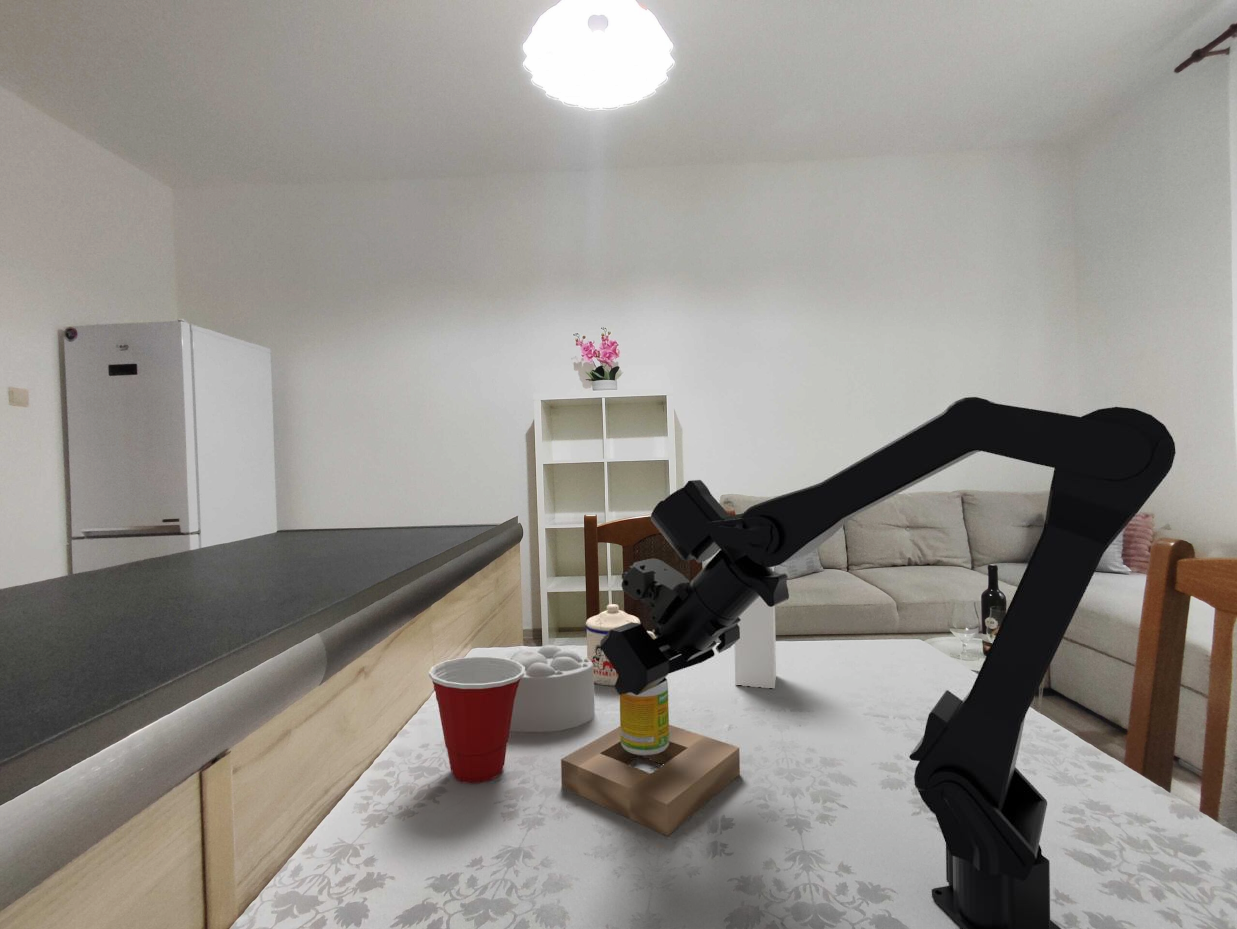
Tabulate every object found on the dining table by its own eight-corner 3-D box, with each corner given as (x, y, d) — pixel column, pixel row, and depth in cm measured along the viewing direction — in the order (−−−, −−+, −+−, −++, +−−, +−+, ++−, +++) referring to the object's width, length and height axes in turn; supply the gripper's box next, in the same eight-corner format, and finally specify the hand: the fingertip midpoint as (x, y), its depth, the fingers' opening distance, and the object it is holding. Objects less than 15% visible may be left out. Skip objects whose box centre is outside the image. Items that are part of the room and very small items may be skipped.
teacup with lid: (584, 687, 94) (582, 612, 94) (588, 667, 103) (586, 599, 103) (661, 686, 93) (660, 611, 93) (658, 666, 103) (657, 598, 102)
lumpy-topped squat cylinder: (510, 700, 89) (509, 642, 89) (597, 700, 89) (596, 641, 89) (492, 732, 79) (490, 666, 79) (590, 732, 78) (589, 666, 78)
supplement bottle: (666, 758, 64) (664, 666, 64) (616, 754, 65) (614, 664, 65) (672, 735, 69) (670, 650, 69) (625, 732, 70) (623, 649, 70)
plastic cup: (546, 770, 69) (543, 666, 69) (458, 808, 62) (455, 691, 62) (497, 738, 77) (495, 645, 77) (415, 768, 70) (412, 665, 70)
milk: (738, 672, 99) (735, 538, 99) (776, 675, 97) (773, 539, 97) (734, 686, 93) (731, 543, 93) (775, 689, 91) (772, 544, 91)
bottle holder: (739, 774, 67) (739, 747, 67) (667, 836, 56) (667, 804, 56) (640, 738, 76) (639, 715, 76) (561, 786, 65) (561, 758, 65)
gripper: (713, 527, 71) (642, 608, 78) (612, 547, 57) (536, 644, 64) (778, 602, 66) (695, 681, 73) (684, 645, 52) (593, 738, 59)
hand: (633, 682), depth 68 cm, fingers closed on supplement bottle, 5 cm apart
